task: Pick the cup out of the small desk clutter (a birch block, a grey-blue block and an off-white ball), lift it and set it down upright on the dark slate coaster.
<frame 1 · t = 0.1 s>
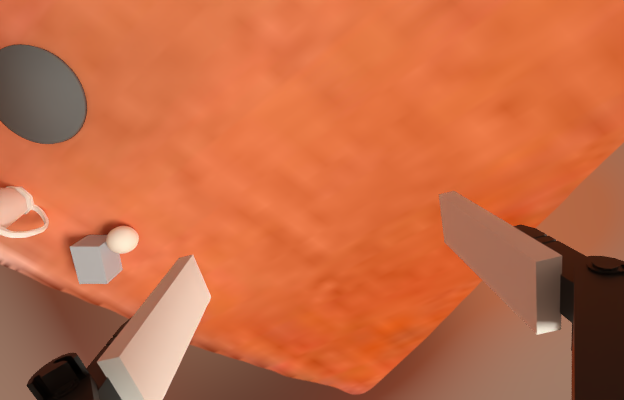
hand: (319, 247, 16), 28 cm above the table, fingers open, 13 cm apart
ball: (130, 233, 45), on the table
coaster: (38, 96, 39), on the table
greyblue block: (106, 252, 46), on the table
cup: (30, 203, 43), on the table
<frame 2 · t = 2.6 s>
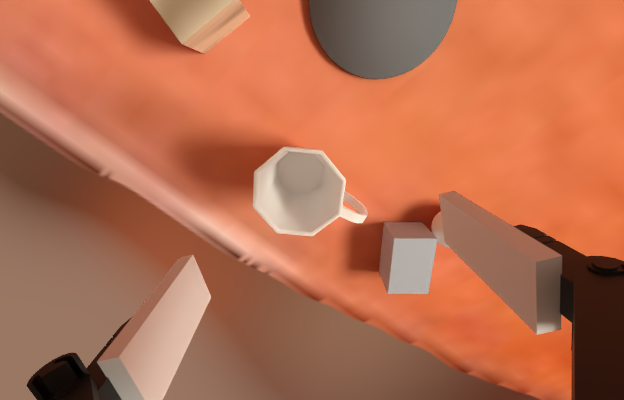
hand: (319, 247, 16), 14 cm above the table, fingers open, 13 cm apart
ball: (444, 220, 31), on the table
birch block: (207, 7, 24), on the table
coaster: (381, 0, 24), on the table
greyblue block: (399, 247, 32), on the table
cup: (313, 175, 29), on the table
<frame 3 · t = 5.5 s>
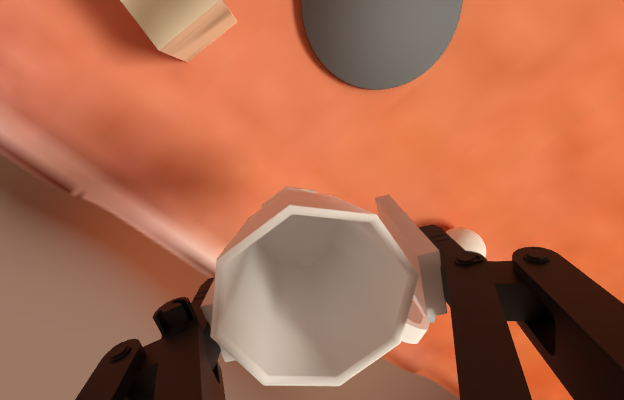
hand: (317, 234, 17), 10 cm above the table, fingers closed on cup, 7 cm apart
ball: (449, 240, 29), on the table
birch block: (190, 11, 22), on the table
coaster: (380, 5, 23), on the table
cup: (317, 232, 18), point 9 cm above the table, touching gripper
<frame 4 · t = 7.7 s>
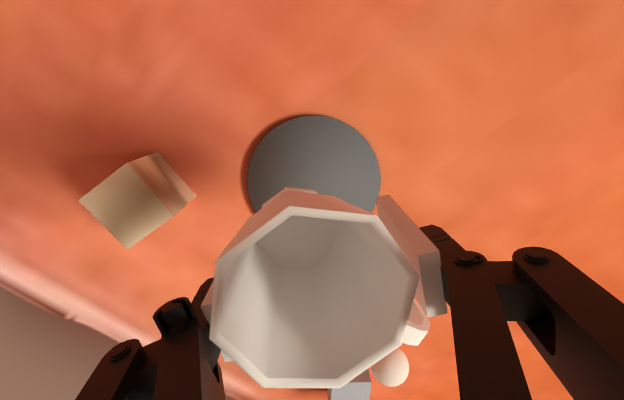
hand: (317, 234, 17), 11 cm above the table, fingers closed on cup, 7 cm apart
ball: (384, 349, 34), on the table
birch block: (157, 189, 27), on the table
coaster: (313, 183, 27), on the table
greyblue block: (345, 370, 35), on the table
cup: (317, 232, 18), point 10 cm above the table, touching gripper
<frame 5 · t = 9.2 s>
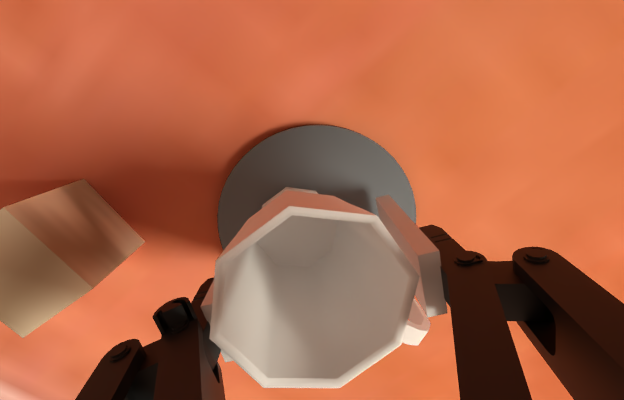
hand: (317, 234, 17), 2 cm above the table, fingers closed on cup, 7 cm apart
birch block: (87, 232, 19), on the table
coaster: (317, 223, 19), on the table
cup: (317, 232, 18), point 1 cm above the table, touching gripper
when the fingers open (1 cm above the table, at t = 10.1 s): cup moves 2 cm, resting on coaster.
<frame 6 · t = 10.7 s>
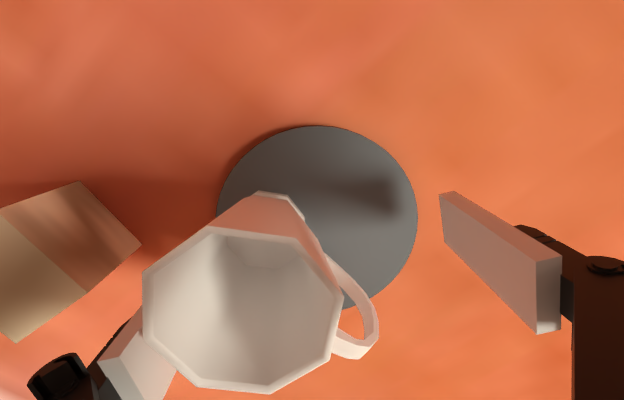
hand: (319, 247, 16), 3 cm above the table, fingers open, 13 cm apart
birch block: (83, 235, 18), on the table
coaster: (317, 225, 18), on the table
cup: (290, 235, 18), resting on coaster
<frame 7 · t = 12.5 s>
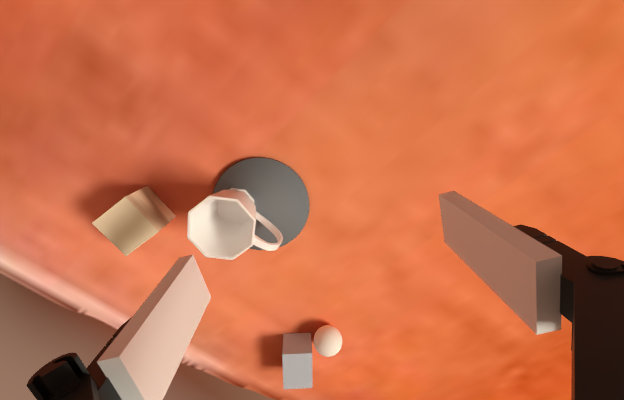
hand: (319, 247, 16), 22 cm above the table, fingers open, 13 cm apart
ball: (326, 330, 44), on the table
birch block: (147, 212, 37), on the table
coaster: (261, 204, 38), on the table
greyblue block: (297, 349, 45), on the table
cup: (248, 209, 37), resting on coaster
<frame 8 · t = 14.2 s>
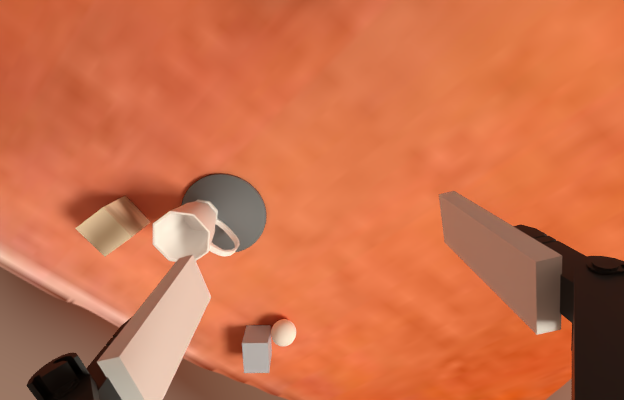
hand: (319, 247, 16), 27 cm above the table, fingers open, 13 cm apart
ball: (284, 323, 50), on the table
birch block: (125, 218, 43), on the table
coaster: (224, 214, 43), on the table
greyblue block: (259, 339, 51), on the table
cup: (212, 218, 43), resting on coaster
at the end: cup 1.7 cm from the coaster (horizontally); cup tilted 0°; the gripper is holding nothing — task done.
